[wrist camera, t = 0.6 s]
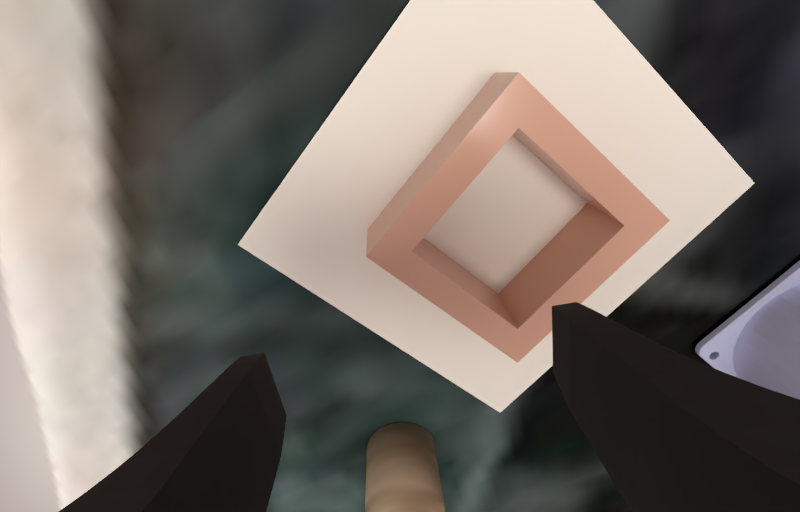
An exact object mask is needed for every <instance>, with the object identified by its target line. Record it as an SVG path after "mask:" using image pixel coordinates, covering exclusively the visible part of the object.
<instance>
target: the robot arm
mask: <svg viewBox="0 0 800 512" xmlns="http://www.w3.org/2000/svg"><path fill="white" fill-rule="evenodd" d="M552 343H553V374H554V376H555V378H556V381H557V383H558V385H559V387H560V390H561V392H562V394H563V396H564V399H565V401H566V403H567V405H568V407H569V409H570V411H571V413H572V414H573V416H574V418H575V419H576V421H577V423H578V424H579V426H580V428H581V429H582V431H583V433H584V434H585V436H586V438H587V439H588V441H589V443H590V444H591V446H592V447H593V449H594V451H595V452H596V454H597V456H598V457H599V459H600V460H601V462H602V464H603V465H604V467H605V469H606V470H607V472H608V474H609V475H610V477H611V478H612V480H613V482H614V483H615V485H616V487H617V488H618V490H619V491H620V493H621V495H622V497H623V498H624V500H625V502H626V504H627V505H628V507H629V509H630V511H631V512H800V260H799V261H798V262H797V263H796V264H794V265H793V266H792V267H791V268H790V269H788V270H787V271H786V272H785V273H783V274H782V275H781V276H780V277H779V278H777V279H776V280H775V281H774V282H772V283H771V284H770V285H769V286H767V287H766V288H765V289H764V290H763V291H761V292H760V293H759V294H758V295H756V296H755V297H754V298H753V299H752V300H750V301H749V302H748V303H747V304H745V305H744V306H743V307H742V308H740V309H739V310H738V311H737V312H736V313H734V314H733V315H732V316H731V317H729V318H728V319H727V320H726V321H725V322H723V323H722V324H721V325H720V326H718V327H717V328H716V329H715V330H713V331H712V332H711V333H710V334H709V335H707V336H706V337H705V338H704V339H702V340H701V341H700V342H699V343H698V344H697V345H696V347H695V351H696V353H697V354H698V355H699V356H700V357H702V358H703V359H704V360H705V361H706V362H707V363H709V364H710V365H711V366H712V367H713V368H712V367H709V366H707V365H705V364H702V363H700V362H698V361H696V360H693V359H691V358H689V357H687V356H684V355H682V354H680V353H678V352H676V351H673V350H671V349H669V348H667V347H665V346H663V345H661V344H659V343H657V342H655V341H653V340H651V339H648V338H646V337H644V336H643V335H641V334H639V333H637V332H635V331H633V330H631V329H629V328H627V327H625V326H623V325H621V324H619V323H617V322H615V321H614V320H612V319H610V318H608V317H606V316H604V315H602V314H600V313H598V312H596V311H594V310H592V309H590V308H589V307H586V306H584V305H582V304H580V303H578V302H573V303H567V304H561V305H555V306H552ZM711 353H712V354H711ZM285 422H286V413H285V410H284V408H283V405H282V402H281V399H280V396H279V393H278V391H277V388H276V385H275V382H274V379H273V376H272V373H271V371H270V368H269V365H268V362H267V359H266V356H265V354H264V353H262V354H256V355H250V356H244V357H240V358H239V359H238V360H236V361H235V362H234V363H233V364H232V365H231V366H229V367H228V368H227V369H226V370H225V371H224V372H223V373H222V374H221V375H220V376H219V377H218V378H217V379H216V380H215V381H214V382H213V383H212V384H210V385H209V386H208V387H207V388H206V389H205V390H204V391H203V392H202V393H201V394H200V395H199V396H198V397H197V398H196V399H195V400H194V401H193V402H192V403H191V404H190V405H189V406H187V407H186V408H185V409H184V410H183V411H182V412H181V413H180V414H179V415H178V416H177V417H176V418H175V419H174V420H172V421H171V422H170V423H169V424H168V425H167V426H166V427H165V428H163V429H162V430H161V431H160V432H159V433H158V434H157V435H156V436H154V437H153V438H152V439H151V440H150V441H149V442H148V443H147V444H145V445H144V446H143V447H142V448H141V449H140V450H139V451H138V452H136V453H135V454H134V455H133V456H132V457H130V458H129V459H128V460H127V461H125V462H124V463H123V464H122V465H121V466H119V467H118V468H117V469H116V470H114V471H113V472H112V473H111V474H109V475H108V476H107V477H105V478H104V479H103V480H101V481H100V482H99V483H98V484H96V485H95V486H94V487H92V488H91V489H90V490H88V491H87V492H86V493H84V494H83V495H82V496H80V497H79V498H78V499H76V500H75V501H73V502H72V503H71V504H69V505H68V506H66V507H65V508H63V509H62V510H61V511H59V512H266V510H267V506H268V502H269V499H270V495H271V491H272V488H273V484H274V480H275V476H276V472H277V469H278V465H279V461H280V457H281V452H282V445H283V438H284V430H285Z"/></svg>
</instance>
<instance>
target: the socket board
mask: <svg viewBox="0 0 800 512" xmlns="http://www.w3.org/2000/svg"><path fill="white" fill-rule="evenodd" d="M753 184H754V182H753V181H752V180H751V178H750V177H749V176H748V175H747V174H746V173H745V172H744V170H743V169H742V168H741V167H740V166H739V165H738V164H737V163H736V161H735V160H734V159H733V158H732V157H731V156H730V155H729V154H728V152H727V151H726V150H725V149H724V148H723V147H722V146H721V144H720V143H719V142H718V141H717V140H716V139H715V138H714V137H713V135H712V134H711V133H710V132H709V131H708V130H707V129H706V127H705V126H704V125H703V124H702V123H701V122H700V121H699V120H698V118H697V117H696V116H695V115H694V114H693V113H692V112H691V110H690V109H689V108H688V107H687V106H686V105H685V104H684V103H683V101H682V100H681V99H680V98H679V97H678V96H677V95H676V93H675V92H674V91H673V90H672V89H671V88H670V87H669V86H668V84H667V83H666V82H665V81H664V80H663V79H662V78H661V76H660V75H659V74H658V73H657V72H656V71H655V70H654V69H653V67H652V66H651V65H650V64H649V63H648V62H647V61H646V59H645V58H644V57H643V56H642V55H641V54H640V53H639V52H638V50H637V49H636V48H635V47H634V46H633V45H632V44H631V42H630V41H629V40H628V39H627V38H626V37H625V36H624V35H623V33H622V32H621V31H620V30H619V29H618V28H617V27H616V26H615V24H614V23H613V22H612V21H611V20H610V19H609V18H608V16H607V15H606V14H605V13H604V12H603V11H602V10H601V9H600V7H599V6H598V5H597V4H596V3H595V2H594V1H593V0H410V1H409V3H408V4H407V6H406V7H405V9H404V10H403V11H402V13H401V14H400V16H399V17H398V18H397V20H396V21H395V23H394V24H393V26H392V27H391V28H390V30H389V31H388V33H387V34H386V35H385V37H384V38H383V40H382V41H381V43H380V44H379V45H378V47H377V48H376V50H375V51H374V52H373V54H372V55H371V57H370V58H369V59H368V61H367V62H366V64H365V65H364V67H363V68H362V69H361V71H360V72H359V74H358V75H357V76H356V78H355V79H354V81H353V82H352V84H351V85H350V86H349V88H348V89H347V91H346V92H345V93H344V95H343V96H342V98H341V99H340V101H339V102H338V103H337V105H336V106H335V108H334V109H333V110H332V112H331V113H330V115H329V116H328V118H327V119H326V120H325V122H324V123H323V125H322V126H321V127H320V129H319V130H318V132H317V133H316V134H315V136H314V137H313V139H312V140H311V142H310V143H309V144H308V146H307V147H306V149H305V150H304V151H303V153H302V154H301V156H300V157H299V159H298V160H297V161H296V163H295V164H294V166H293V167H292V168H291V170H290V171H289V173H288V174H287V176H286V177H285V178H284V180H283V181H282V183H281V184H280V185H279V187H278V188H277V190H276V191H275V193H274V194H273V195H272V197H271V198H270V200H269V201H268V202H267V204H266V205H265V207H264V208H263V209H262V211H261V212H260V214H259V215H258V217H257V218H256V219H255V221H254V222H253V224H252V225H251V226H250V228H249V229H248V231H247V232H246V234H245V235H244V236H243V238H242V239H241V241H240V242H239V243H238V245H239V246H240V247H242V248H244V249H245V250H247V251H248V252H250V253H251V254H253V255H254V256H256V257H258V258H259V259H261V260H262V261H264V262H265V263H267V264H269V265H270V266H272V267H273V268H275V269H276V270H278V271H279V272H281V273H283V274H284V275H286V276H287V277H289V278H290V279H292V280H294V281H295V282H297V283H298V284H300V285H301V286H303V287H304V288H306V289H308V290H309V291H311V292H312V293H314V294H315V295H317V296H319V297H320V298H322V299H323V300H325V301H326V302H328V303H329V304H331V305H333V306H334V307H336V308H337V309H339V310H340V311H342V312H344V313H345V314H347V315H348V316H350V317H351V318H353V319H354V320H356V321H358V322H359V323H361V324H362V325H364V326H365V327H367V328H369V329H370V330H372V331H373V332H375V333H376V334H378V335H379V336H381V337H383V338H384V339H386V340H387V341H389V342H390V343H392V344H394V345H395V346H397V347H398V348H400V349H401V350H403V351H404V352H406V353H408V354H409V355H411V356H412V357H414V358H415V359H417V360H419V361H420V362H422V363H423V364H425V365H426V366H428V367H429V368H431V369H433V370H434V371H436V372H437V373H439V374H440V375H442V376H444V377H445V378H447V379H448V380H450V381H451V382H453V383H454V384H456V385H458V386H459V387H461V388H462V389H464V390H465V391H467V392H469V393H470V394H472V395H473V396H475V397H476V398H478V399H479V400H481V401H483V402H484V403H486V404H487V405H489V406H490V407H492V408H494V409H495V410H497V411H498V412H502V411H503V410H504V409H505V408H506V407H507V406H508V405H509V404H510V403H511V402H513V401H514V400H515V399H516V398H517V397H518V396H519V395H520V394H521V393H523V392H524V391H525V390H526V389H527V388H528V387H529V386H530V385H531V384H533V383H534V382H535V381H536V380H537V379H538V378H539V377H540V376H541V375H543V374H544V373H545V372H546V371H547V370H548V369H549V368H550V367H551V366H553V343H552V306H555V305H561V304H567V303H573V302H578V303H580V304H582V305H584V306H586V307H589V308H590V309H592V310H594V311H596V312H598V313H600V314H602V315H604V316H606V317H607V316H608V315H609V314H610V313H611V312H612V311H614V310H615V309H616V308H617V307H618V306H619V305H620V304H621V303H622V302H623V301H625V300H626V299H627V298H628V297H629V296H630V295H631V294H632V293H633V292H635V291H636V290H637V289H638V288H639V287H640V286H641V285H642V284H643V283H645V282H646V281H647V280H648V279H649V278H650V277H651V276H652V275H653V274H655V273H656V272H657V271H658V270H659V269H660V268H661V267H662V266H663V265H665V264H666V263H667V262H668V261H669V260H670V259H671V258H672V257H673V256H674V255H676V254H677V253H678V252H679V251H680V250H681V249H682V248H683V247H684V246H686V245H687V244H688V243H689V242H690V241H691V240H692V239H693V238H694V237H696V236H697V235H698V234H699V233H700V232H701V231H702V230H703V229H704V228H706V227H707V226H708V225H709V224H710V223H711V222H712V221H713V220H714V219H716V218H717V217H718V216H719V215H720V214H721V213H722V212H723V211H724V210H726V209H727V208H728V207H729V206H730V205H731V204H732V203H733V202H734V201H735V200H737V199H738V198H739V197H740V196H741V195H742V194H743V193H744V192H745V191H747V190H748V189H749V188H750V187H751V186H752V185H753Z"/></svg>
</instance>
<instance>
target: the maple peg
mask: <svg viewBox="0 0 800 512" xmlns="http://www.w3.org/2000/svg"><path fill="white" fill-rule="evenodd" d="M365 512H445V507H444V501H443V495H442V488H441V482H440V476H439V469H438V463H437V457H436V450H435V444H434V440H433V437H432V436H431V434H430V433H429V432H428V431H427V430H426V429H424V428H423V427H421V426H419V425H416V424H413V423H407V422H398V423H392V424H388V425H386V426H383V427H382V428H380V429H378V430H377V431H376V432H375V433H374V434H373V435H372V436H371V437H370V439H369V441H368V444H367V459H366V500H365Z"/></svg>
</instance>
